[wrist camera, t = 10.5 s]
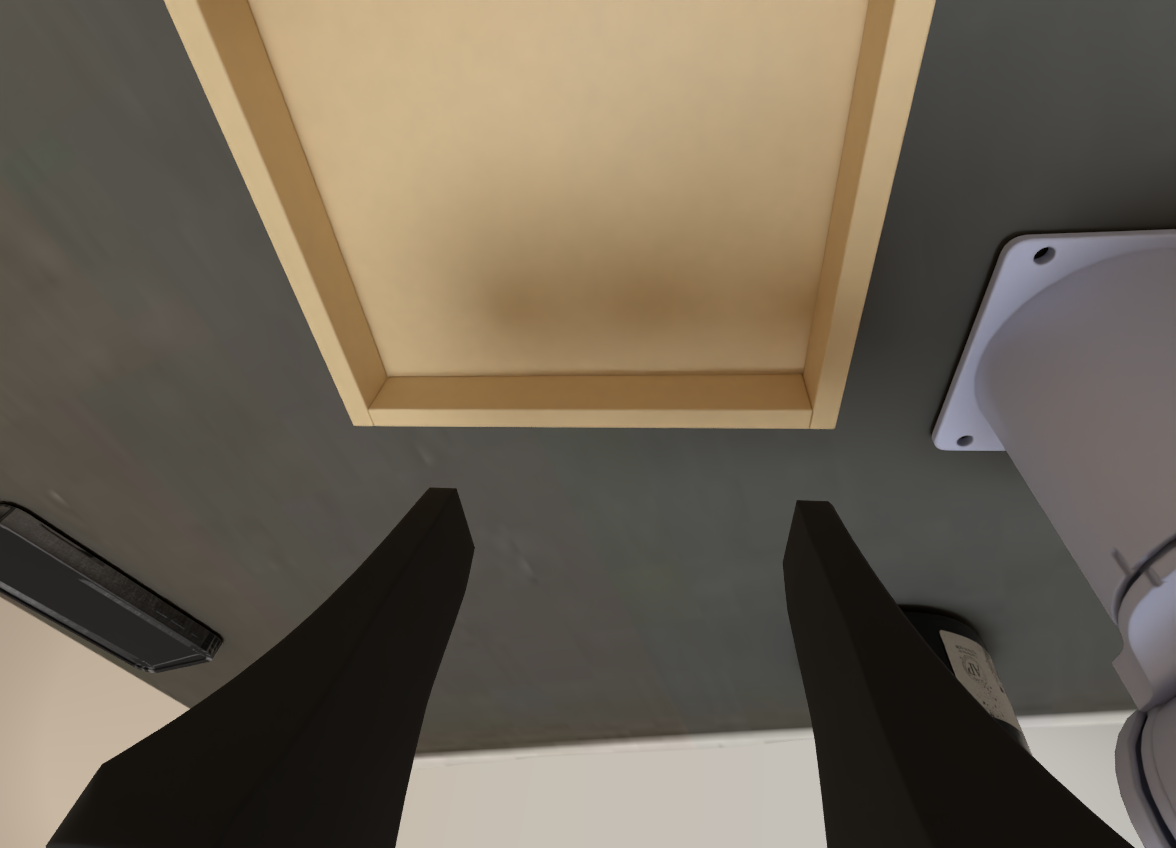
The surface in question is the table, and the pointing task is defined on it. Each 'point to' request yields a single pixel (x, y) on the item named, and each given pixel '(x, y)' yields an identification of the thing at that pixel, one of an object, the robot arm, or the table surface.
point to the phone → (95, 598)
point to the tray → (570, 197)
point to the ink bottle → (969, 665)
